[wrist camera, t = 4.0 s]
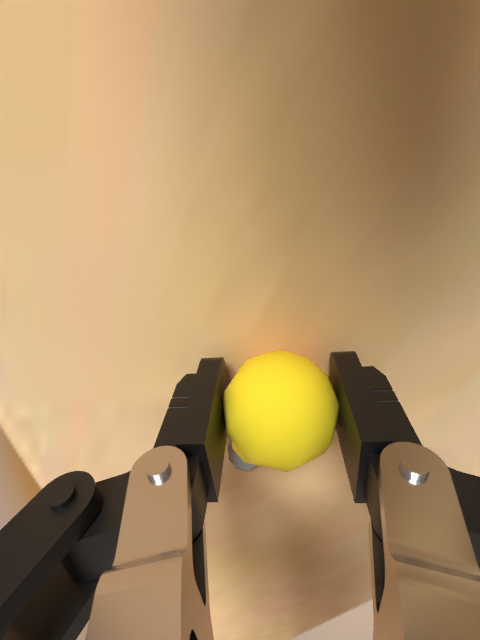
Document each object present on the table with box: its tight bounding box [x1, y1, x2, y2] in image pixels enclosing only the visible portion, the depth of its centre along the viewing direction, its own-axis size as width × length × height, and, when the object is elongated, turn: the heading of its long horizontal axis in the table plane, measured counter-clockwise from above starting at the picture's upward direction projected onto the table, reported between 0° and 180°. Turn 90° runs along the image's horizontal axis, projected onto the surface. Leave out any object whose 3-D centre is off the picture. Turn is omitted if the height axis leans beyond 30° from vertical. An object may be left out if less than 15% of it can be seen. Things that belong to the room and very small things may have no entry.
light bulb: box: [223, 350, 339, 472], centre depth 11 cm, size 3×6×4 cm, turn 162°
